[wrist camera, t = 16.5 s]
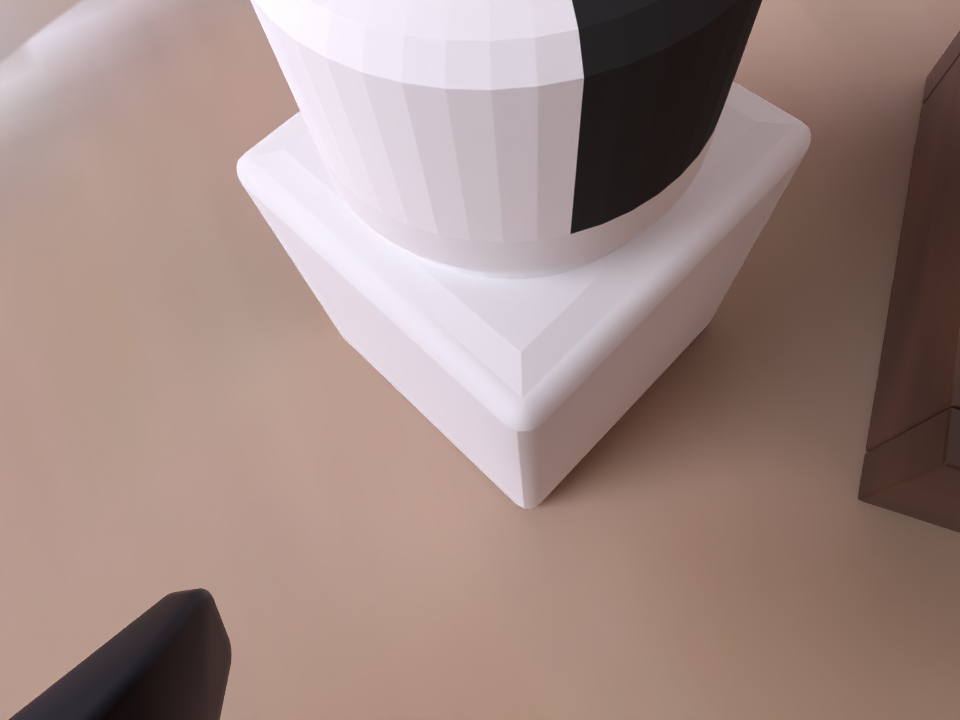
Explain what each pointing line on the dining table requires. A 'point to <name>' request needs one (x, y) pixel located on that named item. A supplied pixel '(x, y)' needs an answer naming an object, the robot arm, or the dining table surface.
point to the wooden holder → (924, 327)
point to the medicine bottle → (519, 201)
